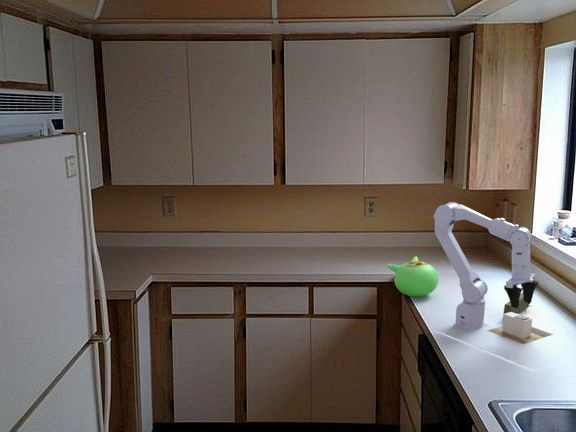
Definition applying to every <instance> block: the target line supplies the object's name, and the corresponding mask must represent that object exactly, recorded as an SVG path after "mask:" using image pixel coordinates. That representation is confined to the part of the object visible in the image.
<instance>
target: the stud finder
mask: <svg viewBox="0 0 576 432" xmlns="http://www.w3.org/2000/svg"><path fill="white" fill-rule="evenodd" d="M503 314H504V313H503ZM502 321H503V322H502V326H503V330H502V331H504V332H507V333H509V334H512V335H515V336H518V337H520V338H526V337H529V336H531V327H533V326H532V325H533V318H531V317H528V316H525V315H521V314H520V313H519V314H516V313H513V312H509V313H505V314H504V317H503V316H502Z"/></svg>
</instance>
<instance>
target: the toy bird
mask: <svg viewBox="0 0 576 432" xmlns="http://www.w3.org/2000/svg"><path fill="white" fill-rule="evenodd" d="M386 267H387V268H388V269H389V270H391V271H392V272H394V273H395V274H394V279H393V281H394V285H395V287H396V289H397V290H398V291H399V292H400V293H402V294H403V295H406V296H407V297H408V296H409V297H415V298H417V297H419V298H420V297H424V296H427V295H429V294H432V292H434V291H435V290H436V288H437V287H438V285H439V274H438V271H437V270H436V269H435V267H434V266H432V265H431V264H429V263H427V262H425V261H419V258H418V256H417V255H416V256H414V257H412V260H410V261H409V262H406V263H404V264H402V265H399V264H398V265H397V264H391V263H389V264H387V265H386Z"/></svg>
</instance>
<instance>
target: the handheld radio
mask: <svg viewBox="0 0 576 432" xmlns="http://www.w3.org/2000/svg"><path fill="white" fill-rule="evenodd" d="M530 304H531V303H527V302H524V298H523V291H521V294H520V299H519V307H518V308H514V307H511V303H510V300H509V301H508V302H506V303H504V307H503V314H502V318H503V317H504V314H505V313H509V312H513V313H516V314H519V315H520V313H523V312H525V311H526V310H527V309H528V306H529V305H530Z"/></svg>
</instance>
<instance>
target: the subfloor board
mask: <svg viewBox="0 0 576 432" xmlns="http://www.w3.org/2000/svg"><path fill="white" fill-rule="evenodd" d="M502 330H503V325H502V326H497V327H494V328H491V329H487V330H486V331H487V332H490V333H493V334H495V335H498V336H501V337H503V338H505V339H506V338H507V339H509V340H511V341H514V342H516V343H519V344H522V345H526V344H529V343H532V342H535V341H537V340H540V339H543V338H546V337H550V336H553V335H554V333H551V332H548V331H545V330H542V329H539V328H536V327H534V326H531V336H529V337H526V338H520V337H518V336H515V335H512V334H509V333H507V332H504V331H502Z"/></svg>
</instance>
